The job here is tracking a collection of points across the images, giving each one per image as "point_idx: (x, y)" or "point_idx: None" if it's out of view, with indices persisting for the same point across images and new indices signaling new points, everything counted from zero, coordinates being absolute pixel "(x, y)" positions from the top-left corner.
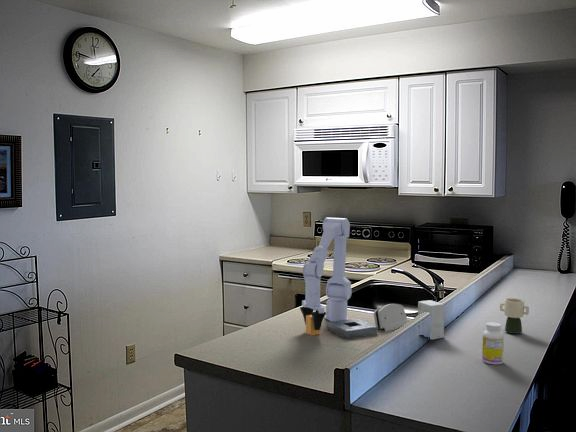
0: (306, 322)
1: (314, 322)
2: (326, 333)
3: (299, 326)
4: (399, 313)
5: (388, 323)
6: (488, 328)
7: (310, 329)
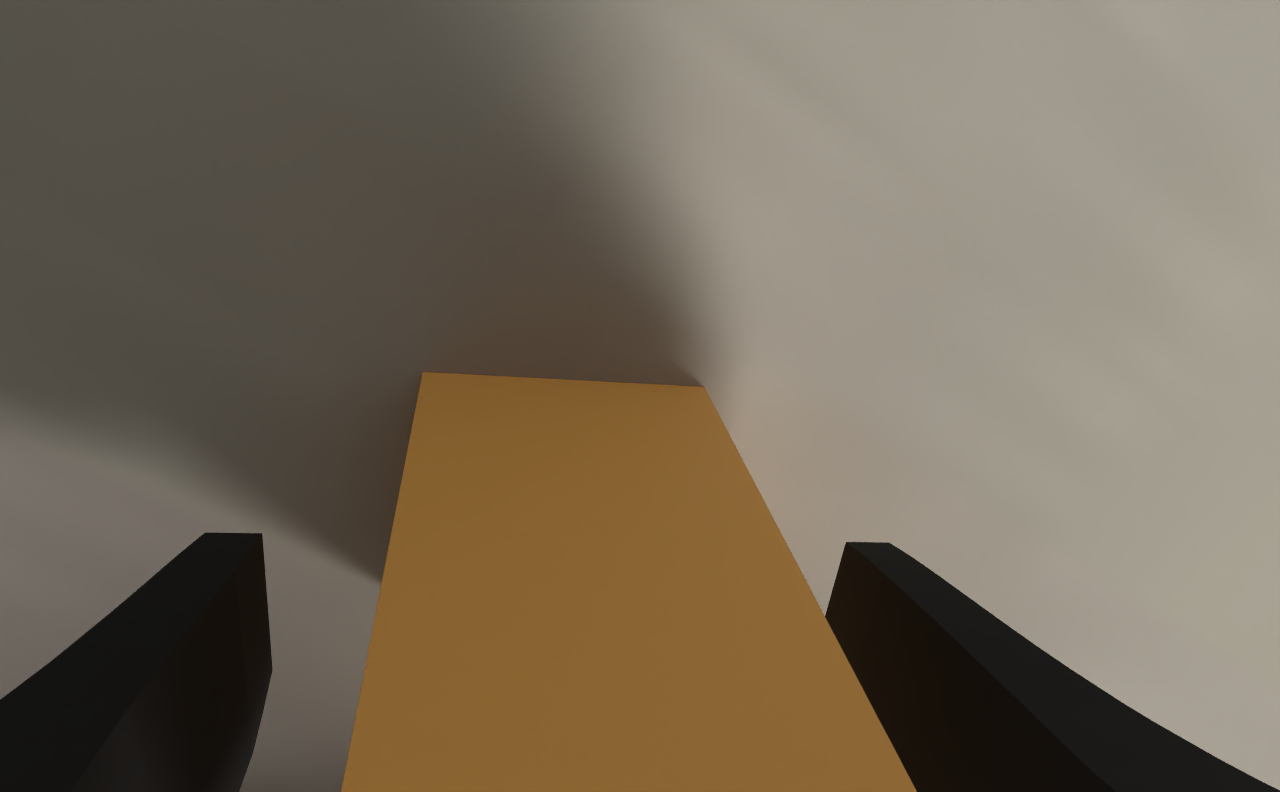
0: (747, 563)
1: (21, 713)
2: None
3: (1177, 505)
4: None
5: None
6: None
7: (421, 455)
